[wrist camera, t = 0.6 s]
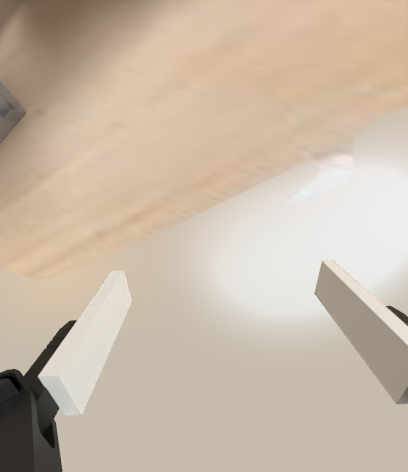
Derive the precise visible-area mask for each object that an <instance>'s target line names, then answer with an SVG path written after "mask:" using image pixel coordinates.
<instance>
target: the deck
mask: <svg viewBox="0 0 408 472" xmlns="http://www.w3.org/2000/svg"><path fill="white" fill-rule="evenodd" d="M24 114H25V112H24V110H23V109H22V108H21V107H20V106H19V104H18V103H17V102H16V101H15V100H14V98H13V97H12V96H11V95H10V93H9V92H8V91H7V90H6V89H5V87H4V86H3V85H2V84H1V82H0V142H1V141H2V140H3V139H4V137H5V136H6V135H7V134H8V133H9V132H10V130H11V129H12V128H13V127H14V126H15V125H16V123H17V122H18V121H19V120H20V119H21V118H22V116H23V115H24Z"/></svg>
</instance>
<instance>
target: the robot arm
mask: <svg viewBox="0 0 408 472" xmlns="http://www.w3.org/2000/svg"><path fill="white" fill-rule="evenodd" d="M315 295H316V296H317V298H318V299H319V300H320V302H321V303H322V304H323V306H324V307H325V308H326V310H327V311H328V312H329V314H330V315H331V316H332V318H333V319H334V321H335V322H336V323H337V325H338V326H339V327H340V329H341V330H342V331H343V333H344V334H345V335H346V337H347V338H348V339H349V341H350V342H351V343H352V345H353V346H354V347H355V349H356V350H357V351H358V353H359V354H360V355H361V357H362V358H363V360H364V361H365V362H366V364H367V365H368V366H369V368H370V369H371V370H372V372H373V373H374V375H375V376H376V377H377V378H378V380H379V381H380V383H381V384H382V385H383V387H384V388H385V389H386V391H387V392H388V393H389V395H390V396H391V397H392V399H393V400H394V401H395V403H396V404H405V403H406V404H407V403H408V317H407V316H406V315H405V314H403V313H402V312H400V311H399V310H397V309H395V308H393V307H391V306H384V305H383V304H382V303H381V302H380V301H379V300H378V299H377V298H375V296H373V295H372V294H371V293H370V292H369V291H368V290H367V289H366V288H364V287H363V286H362V285H361V284H360V283H359V282H358V281H357V280H355V279H354V278H353V277H352V276H351V275H350V274H349V273H348V272H346V271H345V270H344V269H343V268H342V267H341V266H340V265H339V264H337V263H336V262H335V261H334V260H329V261H322V264H321V268H320V272H319V277H318V281H317V285H316V290H315ZM131 303H132V300H131V296H130V292H129V289H128V285H127V281H126V278H125V274H124V270H119V271H112V272H111V273H110V275H109V276H108V277H107V279H106V280H105V282H104V283H103V285H102V286H101V288H100V289H99V290H98V292H97V293H96V295H95V296H94V297H93V299H92V300H91V302H90V303H89V305H88V306H87V308H86V309H85V310H84V312H83V313H82V314H81V316H80V317H79V319H78V320H74V321H69V322H68V323H67V324H65V325H64V326H63V327H62V328H61V329H60V330H59V331H58V332H57V334H56V335H55V336H54V338H53V340H52V341H50V343H49V344H48V345H47V348H46V349H44V351H43V352H42V353H41V355H40V356H39V357H38V358H37V360H36V361H35V362H34V364H33V365H32V366H31V368H30V369H29V370H28V372H27V373H26V374H25V375H24V377H23V375H22V374H21V372H20V371H19V370H16V369H12V370H6V371H3V372H1V373H0V472H62V465H61V458H60V450H59V443H58V435H57V429H56V423H55V420H54V417H55V415H56V414H57V412H58V410H59V409H60V411H61V412H62V413H63V415H64V416H76V415H82V414H83V412H84V409H85V407H86V405H87V403H88V400H89V398H90V396H91V394H92V391H93V389H94V387H95V384H96V382H97V380H98V378H99V375H100V373H101V371H102V369H103V366H104V364H105V362H106V360H107V357H108V355H109V353H110V351H111V348H112V346H113V344H114V342H115V339H116V337H117V335H118V333H119V330H120V328H121V326H122V324H123V321H124V319H125V317H126V314H127V312H128V310H129V308H130V305H131Z"/></svg>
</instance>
